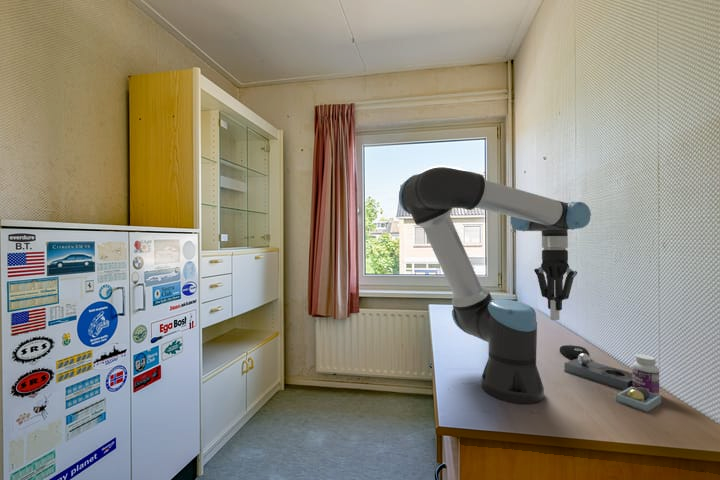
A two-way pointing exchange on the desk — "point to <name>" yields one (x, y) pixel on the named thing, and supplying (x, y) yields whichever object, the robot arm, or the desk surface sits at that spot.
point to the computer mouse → (572, 351)
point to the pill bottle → (646, 373)
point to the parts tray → (644, 406)
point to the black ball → (643, 392)
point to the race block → (601, 373)
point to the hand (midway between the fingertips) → (554, 319)
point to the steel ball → (584, 358)
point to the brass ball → (635, 395)
